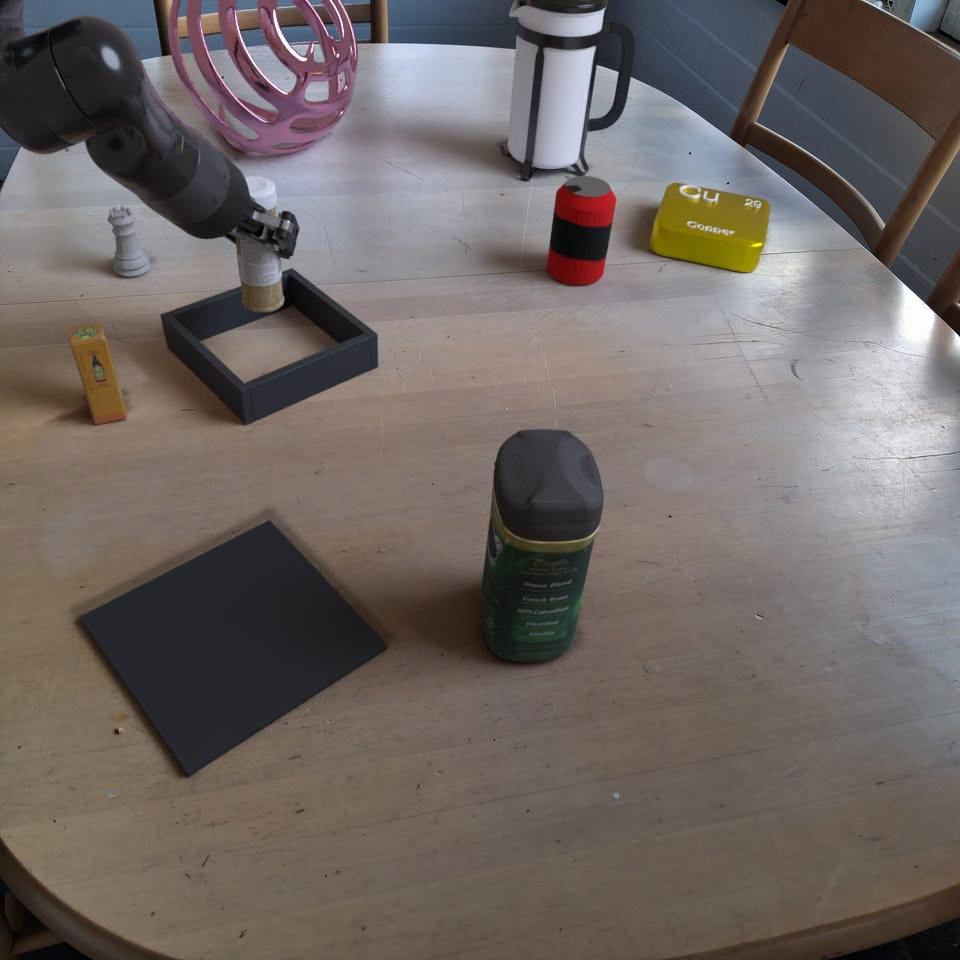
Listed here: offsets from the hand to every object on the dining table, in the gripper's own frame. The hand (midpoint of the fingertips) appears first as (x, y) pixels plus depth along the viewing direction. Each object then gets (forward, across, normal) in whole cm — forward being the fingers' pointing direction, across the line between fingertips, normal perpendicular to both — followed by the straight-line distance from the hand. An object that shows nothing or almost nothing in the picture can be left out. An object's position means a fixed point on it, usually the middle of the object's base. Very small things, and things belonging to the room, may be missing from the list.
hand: (267, 244), depth 94 cm
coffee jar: (-9, -38, +28) cm, 48 cm away
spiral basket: (+44, +26, -25) cm, 57 cm away
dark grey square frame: (+8, 0, +11) cm, 13 cm away
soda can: (+31, -27, -13) cm, 43 cm away
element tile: (+43, -42, -25) cm, 65 cm away
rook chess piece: (+15, +24, +4) cm, 29 cm away
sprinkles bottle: (+3, 0, +6) cm, 7 cm away
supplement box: (-2, +10, +22) cm, 24 cm away
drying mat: (-17, -16, +36) cm, 42 cm away
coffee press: (+53, -15, -35) cm, 66 cm away
